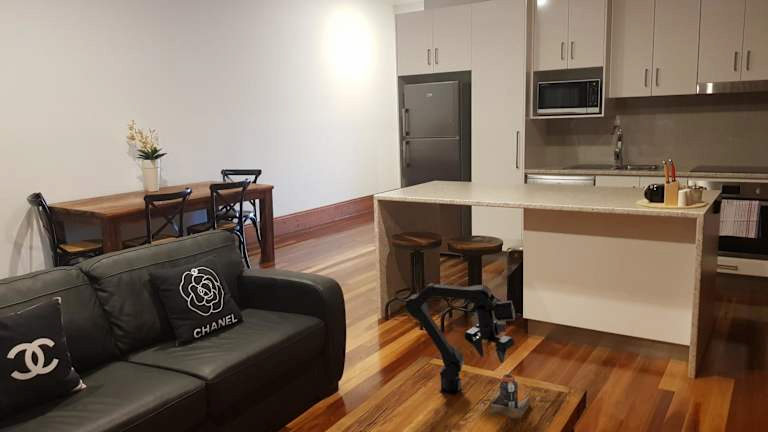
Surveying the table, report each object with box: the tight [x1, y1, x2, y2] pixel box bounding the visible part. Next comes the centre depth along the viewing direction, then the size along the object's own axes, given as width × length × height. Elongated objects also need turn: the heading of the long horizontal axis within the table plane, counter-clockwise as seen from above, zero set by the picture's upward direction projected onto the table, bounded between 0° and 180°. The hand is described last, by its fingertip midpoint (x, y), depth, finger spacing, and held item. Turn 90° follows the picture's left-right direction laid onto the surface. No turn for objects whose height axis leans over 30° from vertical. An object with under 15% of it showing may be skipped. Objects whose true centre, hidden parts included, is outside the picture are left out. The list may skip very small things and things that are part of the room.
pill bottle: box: [499, 373, 519, 409], centre depth 204 cm, size 6×6×11 cm
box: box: [488, 390, 531, 420], centre depth 205 cm, size 11×11×3 cm
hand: (492, 359), depth 216 cm, fingers open, 9 cm apart
